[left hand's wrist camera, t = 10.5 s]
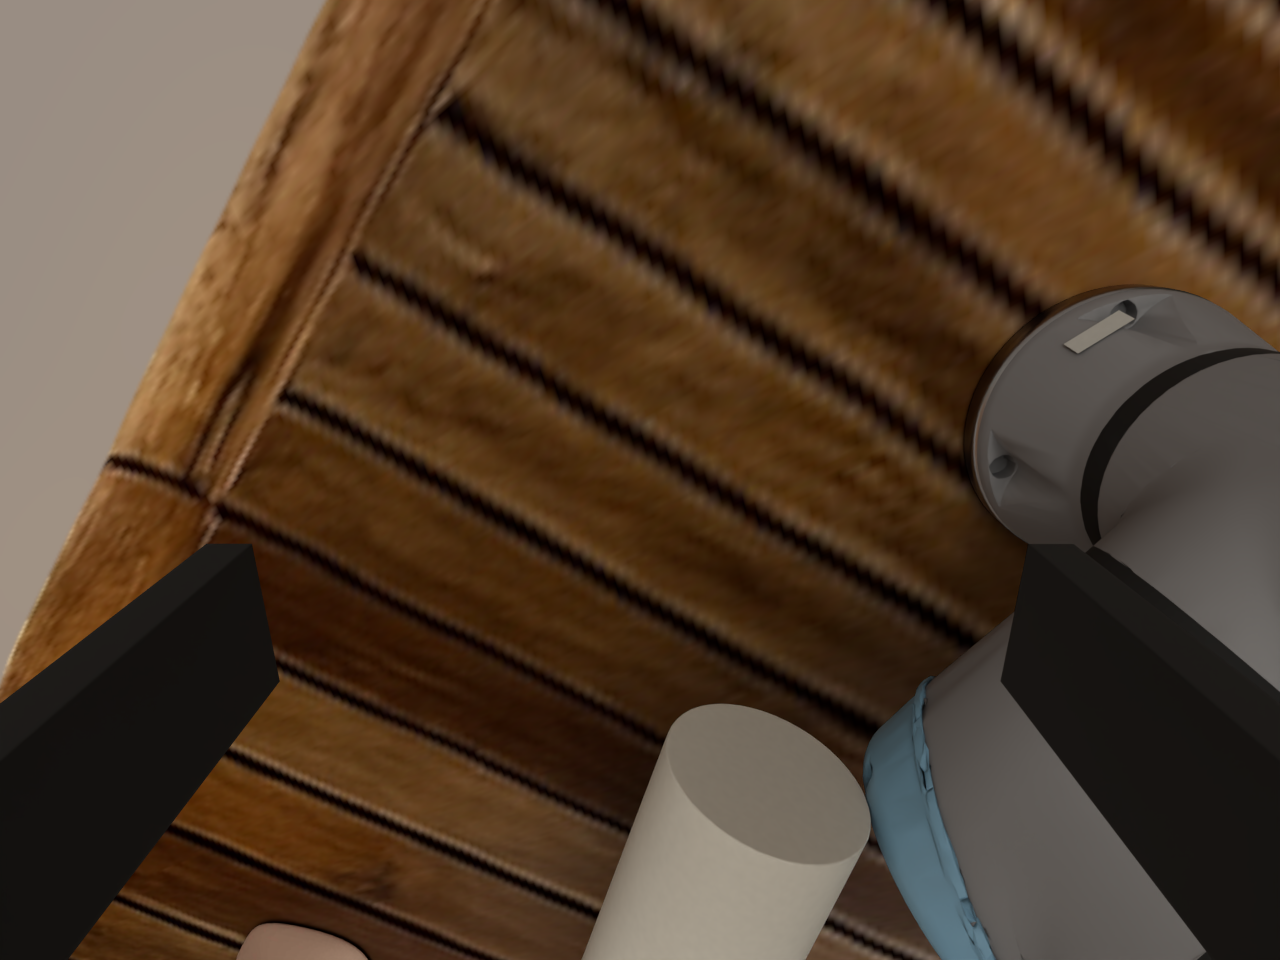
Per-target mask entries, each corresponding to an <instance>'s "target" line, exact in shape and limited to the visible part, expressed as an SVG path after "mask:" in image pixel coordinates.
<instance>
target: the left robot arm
mask: <svg viewBox="0 0 1280 960" xmlns="http://www.w3.org/2000/svg"><path fill="white" fill-rule="evenodd" d="M964 452H965V461H966V467H967V471H968V474H969V478H970V481H971V483H972V485H973V488H974V490H975V492H976V494H977V495H978V497H979V499H980V501H981V502H982V503H983V505H984V506H985V507H986V509H987V510H988V511H989V512H990V513H991V514H992V515H993V516H994V517H995V518H996V519H997V520H998V521H999V522H1000V523H1002V524H1003V525H1004V526H1005V527H1006V528H1007V529H1009V530H1010V531H1011V532H1012V533H1013V534H1014V535H1016V536H1017V537H1019V538H1020V539H1022V540H1023V541H1025V542H1027V543H1028V548H1027V553H1026V557H1025V562H1024V567H1023V572H1022V577H1021V582H1020V587H1019V592H1018V597H1017V602H1016V607H1015V611H1014V612H1013V613H1012V614H1011V615H1010V616H1008V617H1007V618H1006V619H1005V620H1004V621H1002V622H1001V623H1000V624H999V625H998V626H996V627H995V628H994V629H993V630H992V631H990V632H989V633H988V634H987V635H986V636H984V637H983V638H982V639H981V640H980V641H978V642H977V643H976V644H975V645H974V646H972V647H971V648H970V649H969V650H968V651H966V652H965V653H964V654H963V655H962V656H960V657H959V658H958V659H957V660H956V661H954V662H953V663H952V664H951V665H950V666H948V667H947V668H946V669H945V670H944V671H942V672H941V673H940V674H939V675H937V676H936V677H934V676H929V677H928V678H926V679H925V680H923V681H922V682H921V683H920V685H919V686H918V688H917V690H916V693H915V696H914V697H913V698H911V699H910V700H909V701H908V702H907V703H906V704H905V705H904V706H903V707H902V708H901V709H900V710H899V711H897V712H896V713H895V714H894V715H893V716H892V717H891V718H890V719H889V720H888V721H887V722H886V723H885V724H883V725H882V726H881V727H880V728H879V729H878V730H877V731H876V733H875V734H874V735H873V737H872V739H871V740H870V742H869V745H868V747H867V749H866V753H865V756H864V763H863V782H864V787H865V792H866V794H865V796H866V801H867V804H868V807H869V811H870V817H871V824H872V827H873V830H874V833H875V836H876V839H877V841H878V844H879V847H880V849H881V852H882V854H883V856H884V859H885V861H886V863H887V866H888V868H889V870H890V872H891V874H892V877H893V879H894V881H895V883H896V885H897V887H898V889H899V891H900V893H901V894H902V896H903V898H904V900H905V902H906V904H907V906H908V907H909V909H910V911H911V913H912V914H913V916H914V918H915V920H916V921H917V923H918V925H919V926H920V928H921V930H922V931H923V933H924V934H925V936H926V938H927V939H928V941H929V942H930V944H931V945H932V947H933V948H934V950H935V951H936V953H937V954H938V955H939V957H940V958H941V959H942V960H1280V352H1278V351H1277V350H1276V349H1274V348H1273V347H1272V346H1271V345H1269V344H1268V343H1267V342H1266V341H1264V340H1263V339H1262V338H1261V337H1259V336H1258V335H1257V334H1255V333H1254V332H1253V331H1252V330H1250V329H1249V328H1248V327H1247V326H1245V325H1244V324H1243V323H1242V322H1240V321H1239V320H1238V319H1237V318H1235V317H1234V316H1233V315H1231V314H1230V313H1229V312H1227V311H1226V310H1224V309H1223V308H1221V307H1220V306H1218V305H1216V304H1214V303H1212V302H1210V301H1208V300H1206V299H1204V298H1202V297H1200V296H1197V295H1194V294H1191V293H1188V292H1185V291H1180V290H1175V289H1169V288H1163V287H1156V286H1148V285H1117V286H1108V287H1104V288H1099V289H1094V290H1091V291H1088V292H1084V293H1081V294H1078V295H1076V296H1073V297H1071V298H1069V299H1066V300H1064V301H1062V302H1060V303H1058V304H1056V305H1054V306H1052V307H1051V308H1049V309H1047V310H1046V311H1044V312H1043V313H1041V314H1039V315H1038V316H1037V317H1035V318H1034V319H1033V320H1031V321H1030V322H1028V323H1027V324H1026V325H1025V326H1024V327H1023V328H1021V329H1020V330H1019V331H1018V332H1017V333H1016V334H1015V335H1014V336H1013V337H1012V338H1011V339H1010V340H1009V341H1008V342H1007V343H1006V344H1005V345H1004V346H1003V347H1002V349H1001V350H1000V351H999V352H998V354H997V355H996V356H995V357H994V359H993V360H992V362H991V363H990V365H989V366H988V368H987V369H986V371H985V373H984V375H983V376H982V378H981V380H980V382H979V384H978V386H977V388H976V391H975V393H974V395H973V398H972V401H971V404H970V407H969V411H968V415H967V419H966V426H965V434H964ZM278 683H279V676H278V671H277V666H276V661H275V656H274V651H273V646H272V641H271V636H270V631H269V626H268V622H267V617H266V612H265V607H264V602H263V597H262V592H261V587H260V582H259V577H258V572H257V567H256V562H255V558H254V553H253V548H252V544H206V545H204V546H203V547H202V548H201V549H199V550H198V551H197V552H195V553H194V554H193V555H191V556H190V557H189V558H188V559H186V560H185V561H184V562H182V563H181V564H180V565H179V566H177V567H176V568H175V569H173V570H172V571H171V572H170V573H168V574H167V575H166V576H164V577H163V578H162V579H160V580H159V581H158V582H157V583H155V584H154V585H153V586H151V587H150V588H149V589H148V590H146V591H145V592H144V593H142V594H141V595H140V596H139V597H137V598H136V599H135V600H133V601H132V602H131V603H129V604H128V605H127V606H126V607H124V608H123V609H122V610H120V611H119V612H118V613H117V614H115V615H114V616H113V617H111V618H110V619H109V620H108V621H106V622H105V623H104V624H102V625H101V626H100V627H98V628H97V629H96V630H95V631H93V632H92V633H91V634H89V635H88V636H87V637H86V638H84V639H83V640H82V641H80V642H79V643H78V644H77V645H75V646H74V647H73V648H71V649H70V650H69V651H67V652H66V653H65V654H64V655H62V656H61V657H60V658H58V659H57V660H56V661H55V662H53V663H52V664H51V665H49V666H48V667H47V668H46V669H44V670H43V671H42V672H40V673H39V674H38V675H36V676H35V677H34V678H33V679H31V680H30V681H29V682H27V683H26V684H25V685H24V686H22V687H21V688H20V689H18V690H17V691H16V692H15V693H13V694H12V695H11V696H9V697H8V698H7V699H6V700H4V701H3V702H2V703H0V960H68V958H69V957H70V956H71V954H72V953H73V952H74V951H75V949H76V948H77V947H78V945H79V944H80V943H81V941H82V940H83V939H84V937H85V936H86V935H87V933H88V932H89V931H90V930H91V928H92V927H93V926H94V924H95V923H96V922H97V920H98V919H99V918H100V916H101V915H102V914H103V912H104V911H105V910H106V909H107V907H108V906H109V905H110V903H111V902H112V901H113V899H114V898H115V897H116V895H117V894H118V893H119V891H120V890H121V889H122V888H123V886H124V885H125V884H126V882H127V881H128V880H129V878H130V877H131V876H132V874H133V873H134V872H135V870H136V869H137V868H138V867H139V865H140V864H141V863H142V861H143V860H144V859H145V857H146V856H147V855H148V853H149V852H150V851H151V849H152V848H153V847H154V846H155V844H156V843H157V842H158V840H159V839H160V838H161V836H162V835H163V834H164V832H165V831H166V830H167V828H168V827H169V826H170V825H171V823H172V822H173V821H174V819H175V818H176V817H177V815H178V814H179V813H180V811H181V810H182V809H183V807H184V806H185V805H186V804H187V802H188V801H189V800H190V798H191V797H192V796H193V794H194V793H195V792H196V790H197V789H198V788H199V786H200V785H201V784H202V783H203V781H204V780H205V779H206V777H207V776H208V775H209V773H210V772H211V771H212V769H213V768H214V767H215V765H216V764H217V763H218V762H219V760H220V759H221V758H222V756H223V755H224V754H225V752H226V751H227V750H228V748H229V747H230V746H231V744H232V743H233V742H234V741H235V739H236V738H237V737H238V735H239V734H240V733H241V731H242V730H243V729H244V727H245V726H246V725H247V723H248V722H249V721H250V720H251V718H252V717H253V716H254V714H255V713H256V712H257V710H258V709H259V708H260V706H261V705H262V704H263V702H264V701H265V700H266V699H267V697H268V696H269V695H270V693H271V692H272V691H273V689H274V688H275V687H276V685H277V684H278Z"/></svg>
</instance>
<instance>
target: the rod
mask: <svg viewBox="0 0 1280 960" xmlns="http://www.w3.org/2000/svg"><path fill="white" fill-rule="evenodd" d="M870 830H871V817H870V811H869V807H868V804H867V801H866V798H865V796H864V794H863V791H862V789H861V787H860V786H859V784H858V783H857V781H856V779H855V778H854V776H853V775H852V774H851V772H850V771H849V770H848V768H847V767H846V766H845V765H844V764H843V763H842V762H841V761H840V759H839V758H838V757H837V756H836V755H834V754H833V753H832V752H831V751H830V750H829V749H828V748H827V747H826V746H824V745H823V744H822V743H821V742H820V741H818V740H817V739H815V738H814V737H813V736H811V735H810V734H808V733H807V732H805V731H804V730H802V729H800V728H799V727H797V726H795V725H793V724H791V723H790V722H788V721H786V720H784V719H781V718H779V717H777V716H775V715H772V714H769V713H767V712H764V711H761V710H757V709H754V708H750V707H745V706H741V705H733V704H709V705H704V706H699V707H696V708H694V709H691V710H689V711H687V712H685V713H684V714H682V715H681V716H680V717H679V718H678V719H676V721H675V722H674V723H673V724H672V726H671V728H670V730H669V732H668V734H667V737H666V739H665V742H664V745H663V747H662V750H661V753H660V755H659V758H658V760H657V763H656V766H655V768H654V771H653V774H652V776H651V779H650V781H649V784H648V787H647V789H646V792H645V795H644V797H643V800H642V802H641V805H640V808H639V810H638V813H637V816H636V818H635V821H634V823H633V826H632V829H631V831H630V834H629V837H628V839H627V842H626V844H625V847H624V850H623V852H622V855H621V858H620V860H619V863H618V865H617V868H616V871H615V873H614V876H613V879H612V881H611V884H610V886H609V889H608V892H607V894H606V897H605V900H604V902H603V905H602V907H601V910H600V913H599V915H598V918H597V921H596V923H595V926H594V928H593V931H592V934H591V936H590V939H589V942H588V944H587V947H586V949H585V952H584V955H583V957H582V960H806V958H807V956H808V954H809V952H810V950H811V948H812V946H813V944H814V942H815V941H816V939H817V937H818V935H819V933H820V931H821V929H822V927H823V925H824V923H825V921H826V920H827V918H828V916H829V914H830V912H831V910H832V908H833V906H834V904H835V902H836V900H837V898H838V897H839V895H840V893H841V891H842V889H843V887H844V885H845V883H846V881H847V879H848V877H849V875H850V874H851V872H852V870H853V868H854V866H855V864H856V862H857V860H858V858H859V856H860V854H861V853H862V851H863V849H864V847H865V845H866V843H867V841H868V839H869V834H870Z"/></svg>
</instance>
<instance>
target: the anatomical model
mask: <svg viewBox="0 0 1280 960" xmlns="http://www.w3.org/2000/svg"><path fill="white" fill-rule="evenodd" d="M236 960H368V959H367V958H366V956H365V955H364V954H363V953H362V952H361V951H360V950H359V949H357V948H356V947H355V946H353V945H352V944H350V943H349V942H347V941H345V940H343V939H340V938H338V937H335V936H333V935H330V934H327V933H324V932H321V931H317V930H313V929H309V928H305V927H300V926H295V925H289V924H281V923H266V924H262V925H259V926H257V927H256V928H254V929H253V930H252V931H251V932H250V934H249V935H248V936H247V938H246V940H245V942H244V943H243V945H242V947H241V949H240V951H239V953H238V956H237V959H236Z"/></svg>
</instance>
